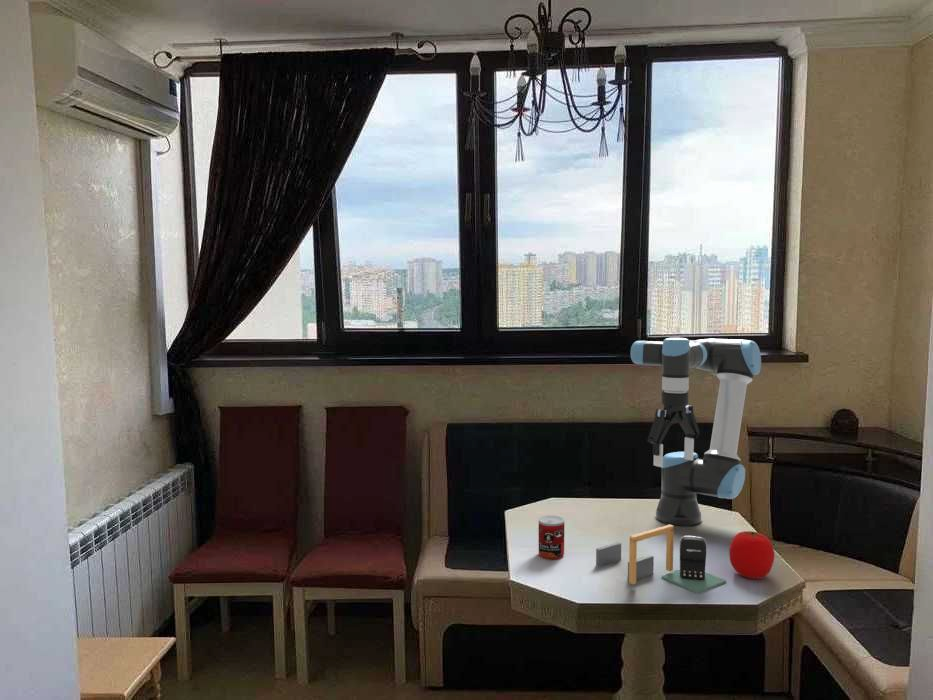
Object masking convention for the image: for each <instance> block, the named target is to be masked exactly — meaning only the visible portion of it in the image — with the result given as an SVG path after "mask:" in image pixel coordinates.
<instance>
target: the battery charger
mask: <svg viewBox="0 0 933 700" xmlns="http://www.w3.org/2000/svg"><path fill="white" fill-rule="evenodd" d="M678 554H679V570H680V576H681V577H682V578H685V579H693V580H704V579H705V572H706V565H707V563H706V562H707V541H706V539H705V538H703V536H702V537H701V536H697V535H684V536H682V537H681V538H680V539H679V553H678Z"/></svg>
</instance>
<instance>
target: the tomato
mask: <svg viewBox="0 0 933 700" xmlns="http://www.w3.org/2000/svg"><path fill="white" fill-rule="evenodd" d="M728 551H729V552H728V554H729V561H730V563H731V565H732V568H733V570H734V571H735V572H736V573H737V574H739V575H741V576H743V577H745V578H748V579H753V580H754V579H755V580H756V579H763V578H765V577H766V576H768V574H769V573H770V571H771V570H772V567H773V564H774V562H775V549H774V547H773V544H772V542H771V541H770V539H769V538H768V537H767V536H765V535H764V534H762V533H760V532H757V531H745V530H743V531H740V532H738V533H737V534H735V535H734V536H733V538H732V540H731V542H730V546H729V550H728Z"/></svg>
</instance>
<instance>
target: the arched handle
mask: <svg viewBox="0 0 933 700" xmlns="http://www.w3.org/2000/svg"><path fill="white" fill-rule="evenodd" d="M674 528H675V525H673V524H667V525H663V526H659V527H656V528H653V529H649V530H645V531H642V532H639V533H635V534H631V535H629V553H628V555H629V556H628V557H629V559H628V560H629V561H628V562H629V580H628V583H629V584H631V585H634V584H637V579H636V559H637V551H638V550H637V547H638V542H642V541H644V540H646V539H647V540H648V539H650V538H653V537H656V536H659V535H664V534H666V547H665V549H666V550H665V552H666V553H665V554H666V555H665V557H666V558H665V570H666V571H668V572H674V540H675V539H674V536H675V535H674V533H675V530H674Z"/></svg>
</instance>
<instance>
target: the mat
mask: <svg viewBox="0 0 933 700" xmlns="http://www.w3.org/2000/svg"><path fill="white" fill-rule="evenodd" d="M661 579H663V580H665V581H668V582H670V583H672V584H674V585H677V586H678V587H679V586H680V587H681V588H684V589H686V590H689V591H691V592H693V593H695V594H701V593H703V592H705V591H708V590H711V589H714V588H716V587H718V586H721V585H724V584H726V583H727V579H726V580H725V579H723V578H721V577H718V576H716V575H715V574H714V575H713V574H710V573H708V572H706V571H705V579H704V580H693V579H685V578H682V577H681V576H680V569H677V570H673V571H670V572H669V573H665V574H663V575H661Z"/></svg>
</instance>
